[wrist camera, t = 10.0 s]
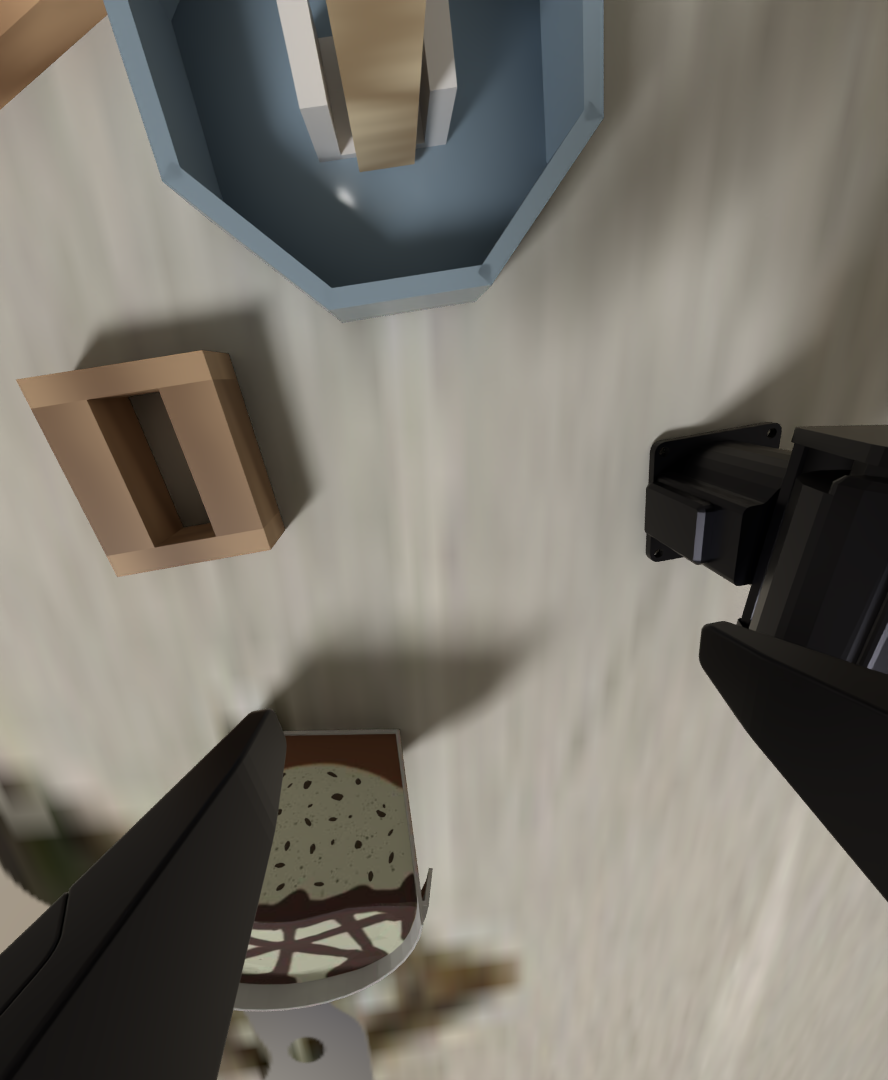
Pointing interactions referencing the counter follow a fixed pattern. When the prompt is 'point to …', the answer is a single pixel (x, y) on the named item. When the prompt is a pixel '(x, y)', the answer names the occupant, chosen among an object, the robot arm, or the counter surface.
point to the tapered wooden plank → (39, 37)
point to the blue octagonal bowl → (328, 149)
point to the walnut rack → (131, 471)
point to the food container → (335, 874)
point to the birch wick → (380, 76)
